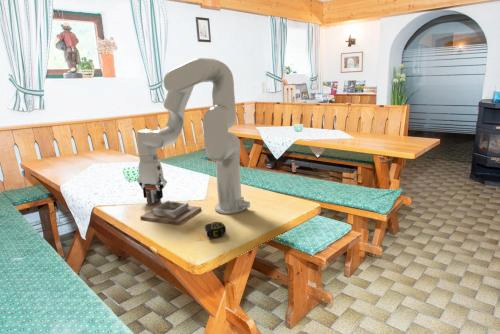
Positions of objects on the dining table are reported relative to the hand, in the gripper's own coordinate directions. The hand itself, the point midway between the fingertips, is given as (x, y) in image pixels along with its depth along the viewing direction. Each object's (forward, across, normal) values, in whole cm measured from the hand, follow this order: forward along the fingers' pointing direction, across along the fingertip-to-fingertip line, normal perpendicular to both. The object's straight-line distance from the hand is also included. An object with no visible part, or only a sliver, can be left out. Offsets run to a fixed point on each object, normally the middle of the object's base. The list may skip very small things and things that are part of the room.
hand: (153, 197), depth 156 cm
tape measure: (+3, -42, +21) cm, 47 cm away
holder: (+3, -16, +9) cm, 19 cm away
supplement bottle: (+3, 0, 0) cm, 3 cm away
